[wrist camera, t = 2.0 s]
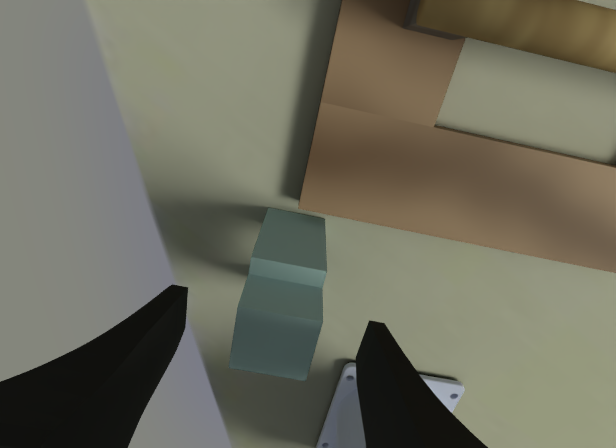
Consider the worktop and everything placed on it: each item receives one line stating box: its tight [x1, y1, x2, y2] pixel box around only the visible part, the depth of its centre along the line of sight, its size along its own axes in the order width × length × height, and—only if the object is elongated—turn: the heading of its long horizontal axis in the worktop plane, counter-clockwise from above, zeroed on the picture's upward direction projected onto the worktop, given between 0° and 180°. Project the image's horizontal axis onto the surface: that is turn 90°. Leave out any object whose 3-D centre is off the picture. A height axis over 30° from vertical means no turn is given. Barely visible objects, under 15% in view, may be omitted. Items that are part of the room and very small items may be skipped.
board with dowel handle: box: [298, 0, 616, 273], centre depth 12 cm, size 18×18×4 cm
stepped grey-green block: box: [229, 207, 327, 381], centre depth 16 cm, size 5×3×7 cm, turn 168°
